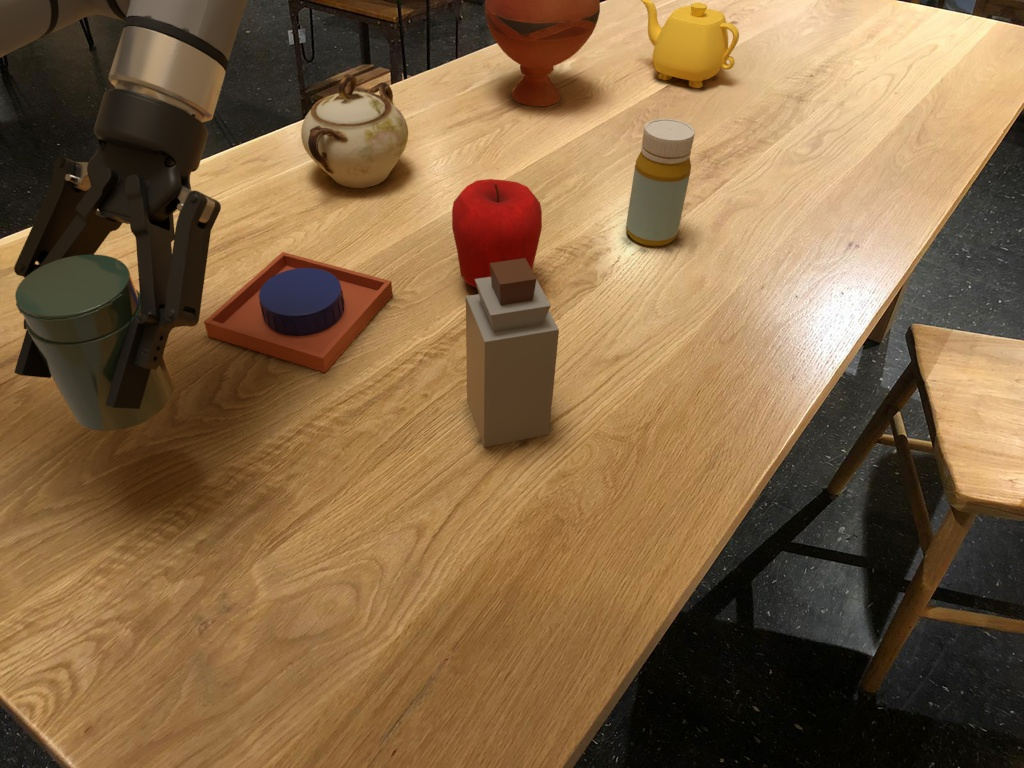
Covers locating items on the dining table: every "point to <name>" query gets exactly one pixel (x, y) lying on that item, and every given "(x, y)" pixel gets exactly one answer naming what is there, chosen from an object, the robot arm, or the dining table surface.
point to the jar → (88, 336)
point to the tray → (316, 351)
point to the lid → (301, 301)
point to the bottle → (660, 182)
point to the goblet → (540, 39)
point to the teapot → (691, 43)
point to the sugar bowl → (355, 134)
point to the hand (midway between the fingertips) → (77, 390)
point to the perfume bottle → (510, 355)
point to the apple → (495, 226)
